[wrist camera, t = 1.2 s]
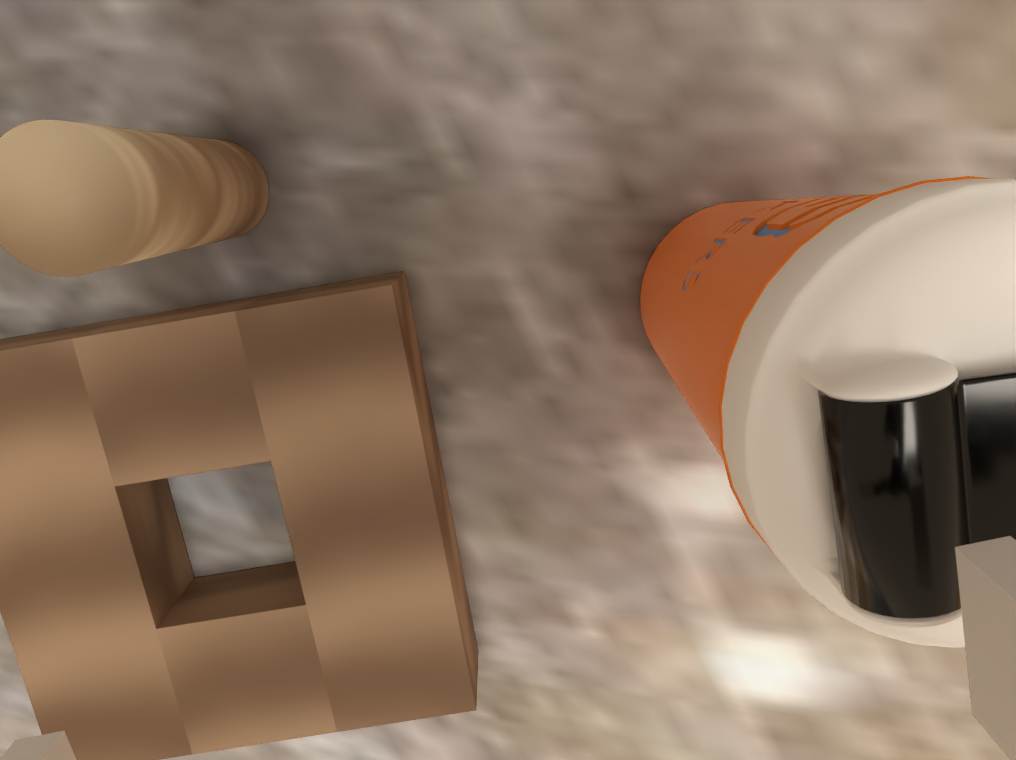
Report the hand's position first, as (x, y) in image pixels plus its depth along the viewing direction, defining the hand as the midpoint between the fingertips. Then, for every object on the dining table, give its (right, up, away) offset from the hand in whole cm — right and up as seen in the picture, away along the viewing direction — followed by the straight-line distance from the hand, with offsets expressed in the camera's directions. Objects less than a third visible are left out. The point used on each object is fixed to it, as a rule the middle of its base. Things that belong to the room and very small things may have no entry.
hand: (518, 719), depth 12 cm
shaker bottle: (+8, +8, +20) cm, 23 cm away
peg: (-11, +12, +19) cm, 25 cm away
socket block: (-11, 0, +22) cm, 24 cm away
